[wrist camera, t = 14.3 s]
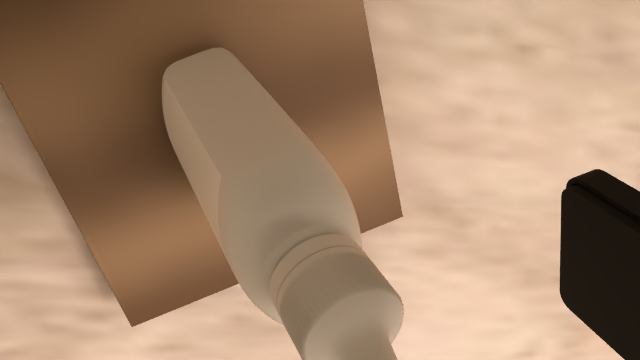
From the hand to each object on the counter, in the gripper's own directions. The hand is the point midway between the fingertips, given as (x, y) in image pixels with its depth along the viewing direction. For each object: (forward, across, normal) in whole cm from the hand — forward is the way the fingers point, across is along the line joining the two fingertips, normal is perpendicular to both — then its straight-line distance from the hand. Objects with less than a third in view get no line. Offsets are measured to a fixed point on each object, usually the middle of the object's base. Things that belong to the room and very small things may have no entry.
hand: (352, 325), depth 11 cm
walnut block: (+15, 0, 0) cm, 15 cm away
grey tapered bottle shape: (+12, 0, 0) cm, 12 cm away
